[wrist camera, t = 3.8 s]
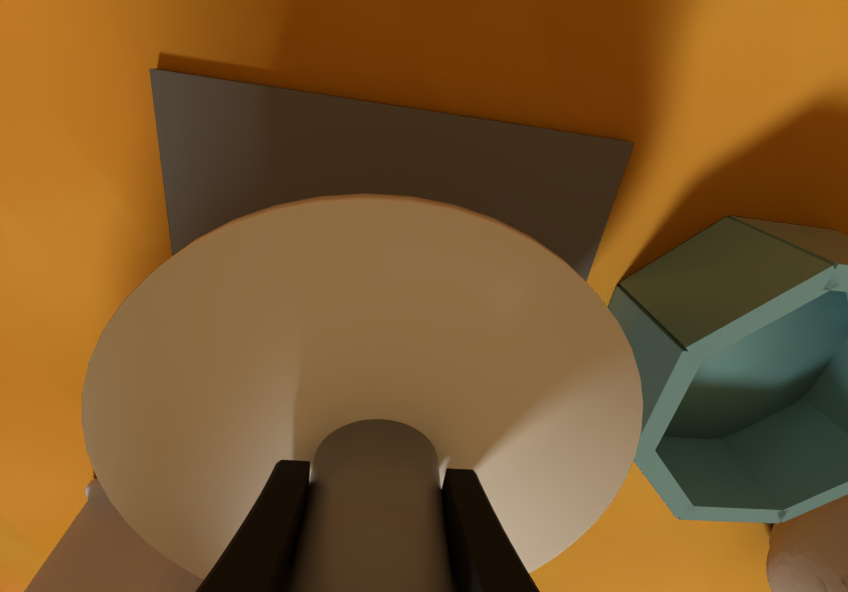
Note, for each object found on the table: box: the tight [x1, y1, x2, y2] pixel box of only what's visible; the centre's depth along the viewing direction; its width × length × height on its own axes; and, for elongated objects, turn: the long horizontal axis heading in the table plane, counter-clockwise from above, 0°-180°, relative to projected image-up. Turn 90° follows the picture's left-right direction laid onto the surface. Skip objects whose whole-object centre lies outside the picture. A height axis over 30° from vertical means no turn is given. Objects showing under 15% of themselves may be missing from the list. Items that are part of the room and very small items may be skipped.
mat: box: [150, 69, 634, 281], centre depth 17 cm, size 15×15×1 cm
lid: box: [82, 193, 643, 592], centre depth 9 cm, size 13×13×5 cm
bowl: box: [608, 216, 848, 524], centre depth 17 cm, size 11×11×4 cm
